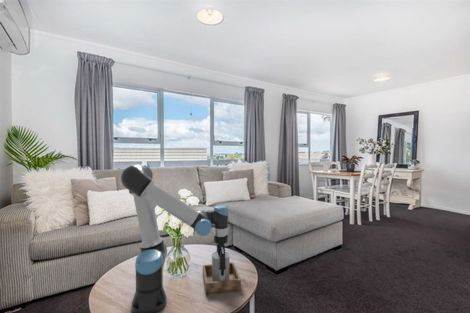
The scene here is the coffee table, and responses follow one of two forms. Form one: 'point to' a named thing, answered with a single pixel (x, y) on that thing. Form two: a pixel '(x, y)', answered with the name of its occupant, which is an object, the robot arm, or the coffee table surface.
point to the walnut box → (224, 285)
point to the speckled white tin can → (217, 265)
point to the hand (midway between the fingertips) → (220, 275)
